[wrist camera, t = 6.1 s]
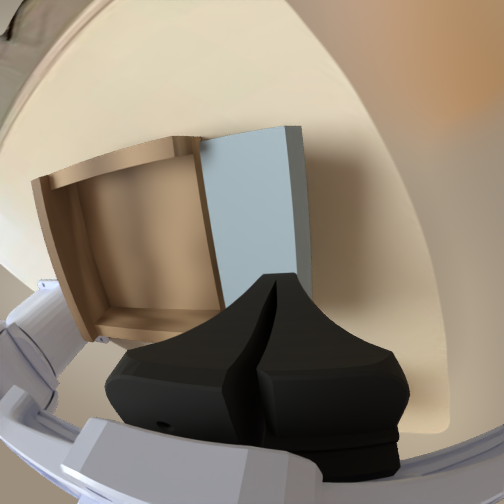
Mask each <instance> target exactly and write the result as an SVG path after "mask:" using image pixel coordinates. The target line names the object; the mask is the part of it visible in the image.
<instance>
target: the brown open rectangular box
mask: <svg viewBox="0 0 504 504" xmlns="http://www.w3.org/2000/svg"><path fill="white" fill-rule="evenodd" d="M199 142H201V137H194V136H170V137H166V138H161V139H157V140H153V141H149V142H145V143H142V144H138V145H134V146H131V147H127V148H124V149H120V150H117V151H114V152H110V153H107V154H104V155H101V156H98V157H95V158H92V159H89V160H86V161H83V162H80V163H78V164H75V165H72V166H69V167H67V168H64V169H62V170H59V171H57V172H54V173H52V174H49V175H46V176H42V177H39V178H37V179H34V180H32V181H31V184H32V190H33V195H34V200H35V204H36V209H37V213H38V217H39V221H40V225H41V229H42V233H43V237H44V240H45V243H46V247H47V250H48V253H49V257H50V260H51V263H52V266H53V269H54V271H55V274H56V277H57V280H58V282H59V285H60V288H61V290H62V293H63V295H64V298H65V300H66V303H67V305H68V307H69V310H70V312H71V314H72V317H73V319H74V321H75V323H76V325H77V327H78V330H79V332H80V334H81V336H82V338H83V340H84V341H89V342H94V341H95V339H96V338H97V337H98V336H105V337H112V338H119V339H127V340H135V341H144V342H154V343H157V342H161V341H164V340H166V339H169V338H172V337H175V336H177V335H179V334H182V333H184V332H186V331H188V330H190V329H192V328H194V327H196V326H198V325H200V324H202V323H204V322H206V321H208V320H209V319H211V318H212V317H214V316H216V315H217V314H219V313H220V312H222V311H223V310H224V309H226V306H225V301H224V296H223V290H222V285H221V280H220V274H219V269H218V263H217V258H216V252H215V246H214V240H213V234H212V229H211V222H210V216H209V210H208V204H207V197H206V191H205V184H204V178H203V171H202V164H201V157H200V150H199Z"/></svg>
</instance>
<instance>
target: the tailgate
mask: <svg viewBox="0 0 504 504" xmlns="http://www.w3.org/2000/svg"><path fill="white" fill-rule="evenodd" d="M199 150H200V157H201V164H202V171H203V178H204V184H205V191H206V197H207V204H208V210H209V216H210V222H211V229H212V234H213V240H214V246H215V252H216V258H217V263H218V269H219V274H220V280H221V285H222V290H223V296H224V301H225V306H226V308H227V307H228V306H229V305H231V304H232V303H233V302H234V301H235V300H237V299H238V298H239V297H240V296H241V295H242V294H243V293H245V292H246V291H247V290H248V289H249V288H250V287H251V286H252V285H253V284H254V283H255V281H256V280H257V279H258V278H259V277H260V276H261V275H262V274H270V273H291V272H295V273H296V274H297V277H298V279H299V281H300V283H301V285H302V287H303V289H304V290H305V292H306V293H307V294H308V296H309V297H310V299H311V300H312V270H311V243H310V224H309V207H308V193H307V180H306V168H305V157H304V147H303V137H302V128H301V126H280V127H273V128H267V129H261V130H255V131H249V132H244V133H239V134H234V135H229V136H224V137H219V138H214V139H210V140H206V141H201V142H199Z"/></svg>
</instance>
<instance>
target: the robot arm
mask: <svg viewBox="0 0 504 504" xmlns="http://www.w3.org/2000/svg"><path fill="white" fill-rule="evenodd" d="M37 284H38V287H39V290H38V291H36V292H35V293H34V294H32V295H31V296H30V297H29V298H27V299H26V300H25V301H24V302H22V303H21V304H20V305H19V306H17V307H16V308H15V309H14V310H12V311H11V312H10V314H9V315H8V317H7V320H6V322H5V321H4V320H0V439H1V440H2V441H3V442H4V443H5V444H6V445H7V446H8V447H9V448H10V449H11V450H12V451H13V452H14V453H15V454H16V455H18V456H19V457H20V458H21V459H22V460H23V461H24V462H26V463H27V464H28V465H29V466H31V467H32V468H33V469H35V470H36V471H37V472H39V473H40V474H41V475H42V476H44V477H45V478H47V479H48V480H50V481H51V482H52V483H54V484H55V485H57V486H58V487H60V488H61V489H63V490H64V491H66V492H67V493H69V494H71V495H72V496H74V497H75V498H77V499H79V501H78V503H77V504H496V503H497V502H499V501H501V500H502V499H504V424H503V425H501V426H499V427H497V428H495V429H493V430H491V431H488V432H486V433H484V434H481V435H479V436H477V437H474V438H472V439H469V440H467V441H464V442H461V443H459V444H456V445H453V446H450V447H447V448H444V449H441V450H438V451H435V452H432V453H428V454H425V455H421V456H417V457H413V458H409V459H405V460H400V459H399V454H398V448H397V442H398V440H399V432H398V427H397V425H398V423H399V421H400V419H401V417H402V415H403V413H404V410H405V408H406V406H407V404H408V401H409V397H410V391H409V386H408V383H407V380H406V377H405V374H404V372H403V370H402V368H401V366H400V365H399V363H398V361H397V359H396V358H395V356H394V354H393V352H392V351H389V350H386V349H384V348H381V347H378V346H376V345H373V344H370V343H368V342H366V341H364V340H362V339H360V338H358V337H356V336H354V335H352V334H351V333H349V332H347V331H346V330H344V329H343V328H341V327H340V326H338V325H337V324H335V323H334V322H333V321H331V320H330V319H329V318H328V317H327V316H326V315H325V314H324V313H323V312H322V311H321V310H320V309H319V308H318V307H317V306H316V305H315V303H314V302H313V301H312V300H311V299H310V297H309V296H308V294H307V293H306V292H305V290H304V289H303V287H302V285H301V283H300V281H299V279H298V277H297V274H296V273H295V272H291V273H270V274H262V275H261V276H260V277H259V278H258V279H257V280H256V281H255V283H254V284H253V285H252V286H251V287H250V288H249V289H248V290H247V291H246V292H245V293H243V294H242V295H241V296H240V297H239V298H238V299H237V300H235V301H234V302H233V303H232V304H231V305H229V306H228V307H227V308H226V309H224V310H223V311H222V312H220V313H219V314H217V315H216V316H214V317H212V318H211V319H209V320H208V321H206V322H204V323H202V324H200V325H198V326H196V327H194V328H192V329H190V330H188V331H186V332H184V333H182V334H179V335H177V336H175V337H172V338H169V339H166V340H164V341H161V342H157V343H154V344H150V345H147V346H143V347H139V348H135V349H130V350H127V352H126V353H125V354H124V356H123V357H122V359H121V360H120V361H119V363H118V364H117V366H116V367H115V369H114V370H113V371H112V373H111V374H110V376H109V377H108V379H107V380H106V383H105V391H106V395H107V397H108V399H109V401H110V403H111V405H112V406H113V408H114V409H115V410H116V412H117V413H118V415H119V416H120V417H121V419H122V420H123V421H124V423H121V422H118V421H115V420H109V419H104V418H97V417H94V418H89V420H88V421H87V423H86V424H85V426H84V427H83V429H82V428H79V427H77V426H75V425H73V424H71V423H69V422H66V421H64V420H62V419H60V418H58V417H56V416H54V415H53V414H54V412H55V410H56V408H57V405H58V392H57V391H56V390H55V389H56V388H57V386H58V385H59V384H60V383H59V382H58V380H57V378H58V377H59V375H60V374H61V373H62V372H63V370H64V369H65V368H66V367H67V366H68V364H69V363H70V362H71V361H72V360H73V359H74V357H75V356H76V355H77V354H78V353H79V351H80V350H81V349H82V348H83V347H84V346H85V344H87V342H88V341H84V340H83V338H82V336H81V334H80V332H79V330H78V327H77V325H76V323H75V321H74V319H73V317H72V314H71V312H70V310H69V307H68V305H67V303H66V300H65V298H64V295H63V293H62V290H61V288H60V285H59V282H58V280H39V281H38V282H37ZM95 341H96V342H102V343H108V342H109V338H108V337H105V336H98V337H97V338H96V339H95Z"/></svg>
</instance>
